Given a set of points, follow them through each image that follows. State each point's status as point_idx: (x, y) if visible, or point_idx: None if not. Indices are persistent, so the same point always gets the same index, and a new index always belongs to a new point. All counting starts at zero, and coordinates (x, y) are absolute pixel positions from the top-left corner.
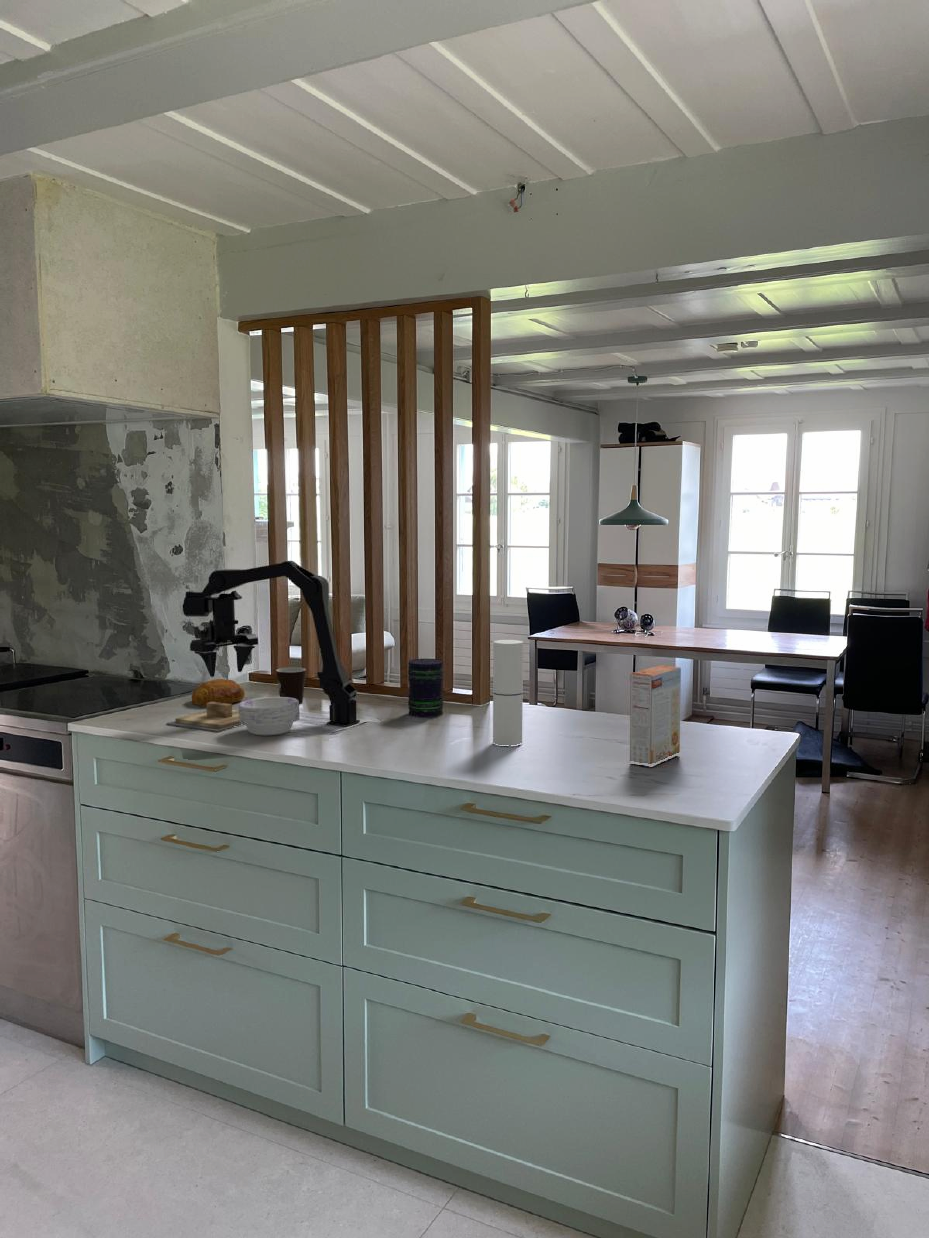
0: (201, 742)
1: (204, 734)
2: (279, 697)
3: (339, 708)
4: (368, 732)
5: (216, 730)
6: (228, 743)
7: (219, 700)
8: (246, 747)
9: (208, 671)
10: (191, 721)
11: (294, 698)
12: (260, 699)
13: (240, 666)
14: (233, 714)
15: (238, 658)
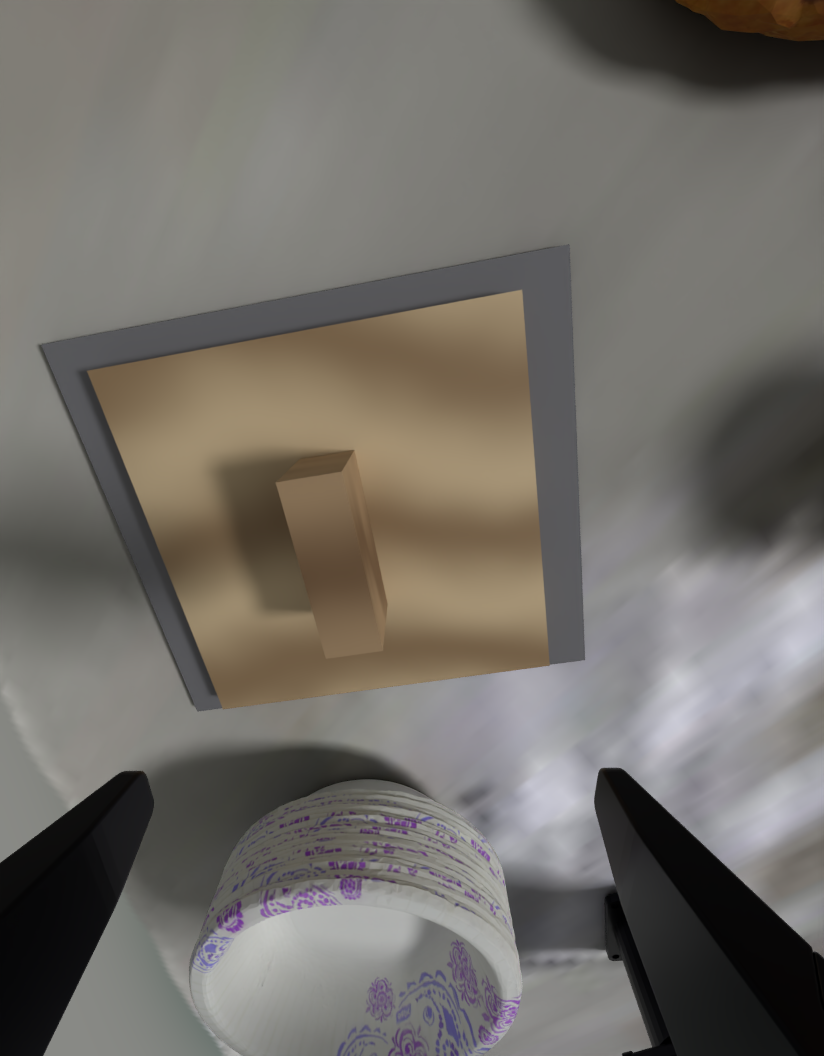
0: (58, 782)
1: (131, 693)
2: (490, 964)
3: (643, 1020)
4: (576, 1018)
5: (195, 703)
6: (140, 852)
7: (740, 29)
8: (163, 918)
9: (46, 831)
10: (147, 513)
11: (510, 1024)
12: (402, 909)
13: (627, 893)
14: (433, 563)
15: (737, 1028)
